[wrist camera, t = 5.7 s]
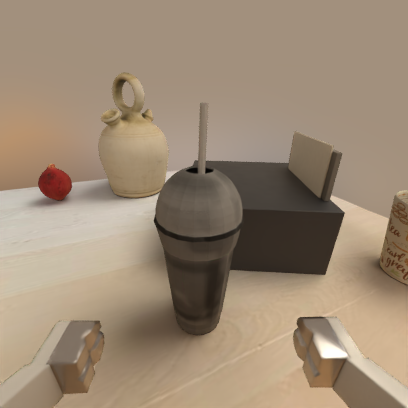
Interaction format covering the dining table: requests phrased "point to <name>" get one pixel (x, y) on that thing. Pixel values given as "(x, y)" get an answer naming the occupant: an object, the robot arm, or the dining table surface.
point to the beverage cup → (198, 237)
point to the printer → (287, 209)
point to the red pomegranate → (54, 183)
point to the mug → (397, 240)
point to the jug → (132, 145)
